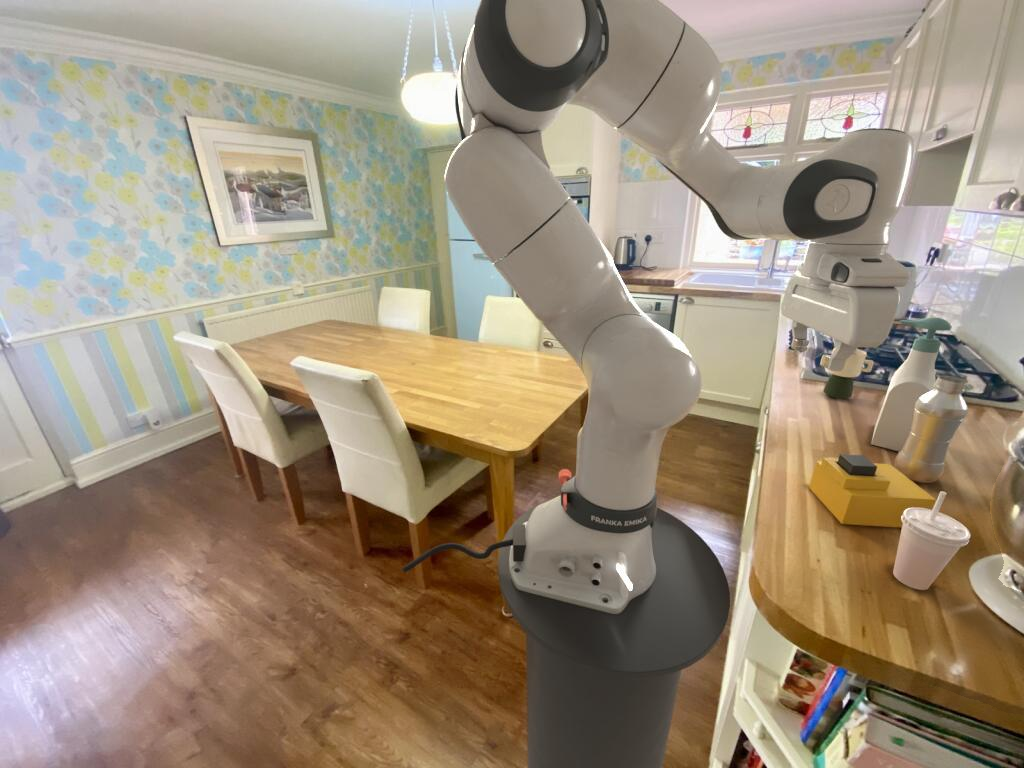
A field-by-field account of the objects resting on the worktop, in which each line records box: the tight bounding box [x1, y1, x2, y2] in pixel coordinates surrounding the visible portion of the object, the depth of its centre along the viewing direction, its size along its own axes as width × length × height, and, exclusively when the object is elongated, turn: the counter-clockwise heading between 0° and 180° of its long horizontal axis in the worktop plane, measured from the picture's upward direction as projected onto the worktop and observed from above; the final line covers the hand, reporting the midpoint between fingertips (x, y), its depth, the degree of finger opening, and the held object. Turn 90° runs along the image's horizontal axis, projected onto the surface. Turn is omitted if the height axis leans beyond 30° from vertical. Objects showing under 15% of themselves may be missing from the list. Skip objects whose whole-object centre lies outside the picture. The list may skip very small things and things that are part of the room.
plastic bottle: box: [893, 375, 969, 484], centre depth 75 cm, size 6×7×20 cm
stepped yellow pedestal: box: [808, 457, 937, 529], centre depth 70 cm, size 12×10×8 cm
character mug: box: [819, 347, 875, 399], centre depth 111 cm, size 11×7×13 cm, turn 57°
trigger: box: [837, 453, 877, 476], centre depth 69 cm, size 4×4×2 cm
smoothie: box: [892, 490, 971, 591], centre depth 55 cm, size 6×6×14 cm
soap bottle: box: [870, 316, 953, 453], centre depth 87 cm, size 11×8×27 cm
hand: (814, 359), depth 63 cm, fingers open, 8 cm apart
